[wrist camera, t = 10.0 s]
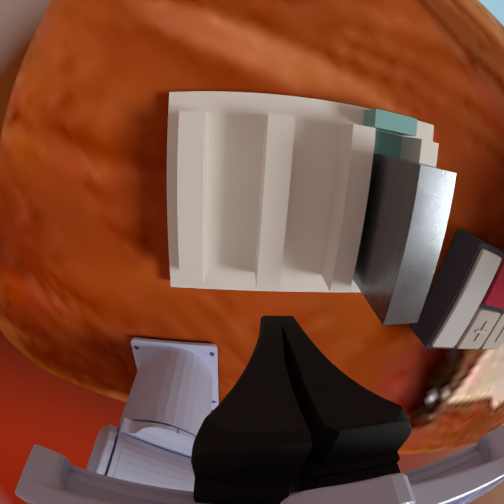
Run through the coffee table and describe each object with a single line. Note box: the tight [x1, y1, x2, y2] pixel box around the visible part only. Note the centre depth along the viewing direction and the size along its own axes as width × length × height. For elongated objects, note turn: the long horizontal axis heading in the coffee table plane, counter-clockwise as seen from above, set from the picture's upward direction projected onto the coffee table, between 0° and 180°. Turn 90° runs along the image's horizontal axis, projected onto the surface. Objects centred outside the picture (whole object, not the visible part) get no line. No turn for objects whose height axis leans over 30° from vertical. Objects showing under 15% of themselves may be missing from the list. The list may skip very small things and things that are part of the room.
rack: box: [167, 91, 439, 292], centre depth 19 cm, size 14×19×4 cm
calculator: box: [410, 229, 504, 349], centre depth 24 cm, size 11×4×15 cm
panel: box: [353, 153, 457, 325], centre depth 17 cm, size 9×2×7 cm, turn 177°
